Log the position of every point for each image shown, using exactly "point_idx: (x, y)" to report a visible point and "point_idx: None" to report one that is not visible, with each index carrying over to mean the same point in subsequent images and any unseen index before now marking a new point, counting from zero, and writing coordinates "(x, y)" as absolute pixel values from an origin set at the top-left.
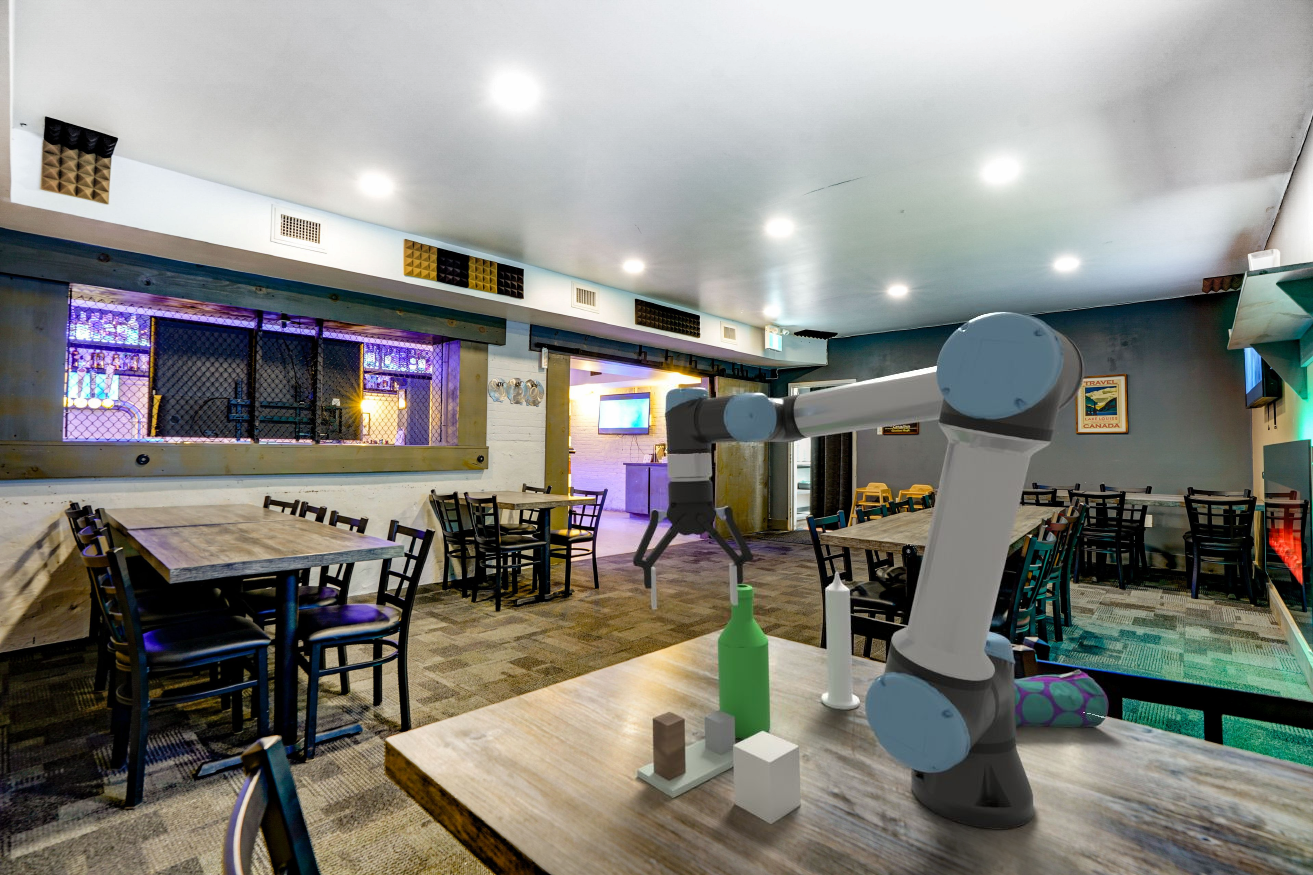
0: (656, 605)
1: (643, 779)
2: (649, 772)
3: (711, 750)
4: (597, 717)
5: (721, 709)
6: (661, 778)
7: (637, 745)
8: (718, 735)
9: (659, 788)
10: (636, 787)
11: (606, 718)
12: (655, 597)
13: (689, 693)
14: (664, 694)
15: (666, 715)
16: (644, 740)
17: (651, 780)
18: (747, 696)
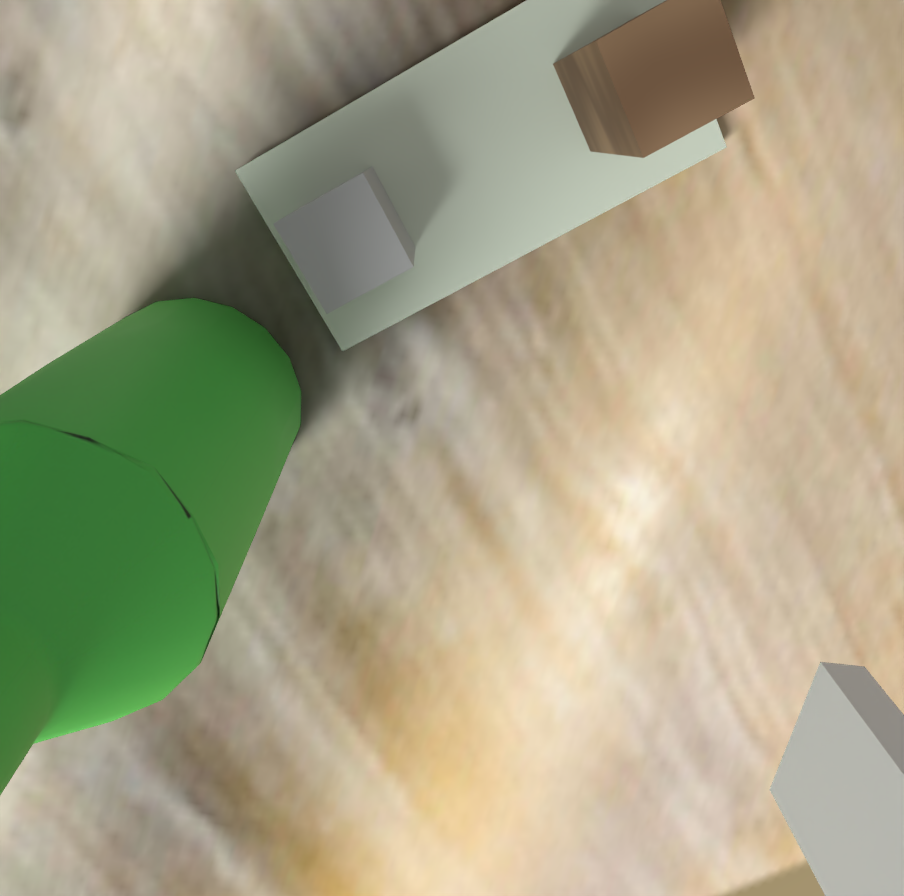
0: (844, 687)
1: None
2: None
3: (398, 215)
4: (724, 620)
5: (289, 418)
6: None
7: (647, 378)
8: (373, 180)
9: None
10: (746, 62)
11: (695, 605)
12: (898, 754)
13: (338, 724)
14: (434, 736)
15: (674, 110)
16: (610, 408)
17: None
18: (161, 340)
